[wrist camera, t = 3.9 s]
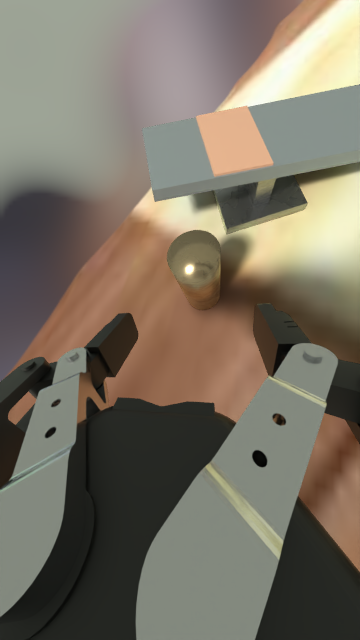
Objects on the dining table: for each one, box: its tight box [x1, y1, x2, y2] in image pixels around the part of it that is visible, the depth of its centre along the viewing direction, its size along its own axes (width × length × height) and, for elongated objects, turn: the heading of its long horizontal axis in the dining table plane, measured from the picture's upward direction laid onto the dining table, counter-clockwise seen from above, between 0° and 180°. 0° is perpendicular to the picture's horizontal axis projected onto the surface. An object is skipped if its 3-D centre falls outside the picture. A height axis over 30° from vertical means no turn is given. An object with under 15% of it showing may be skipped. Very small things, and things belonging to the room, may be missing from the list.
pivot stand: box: [213, 175, 307, 234], centre depth 21 cm, size 10×12×5 cm
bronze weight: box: [167, 230, 220, 310], centre depth 17 cm, size 4×4×9 cm
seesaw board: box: [142, 84, 360, 202], centre depth 18 cm, size 26×10×1 cm, turn 100°
